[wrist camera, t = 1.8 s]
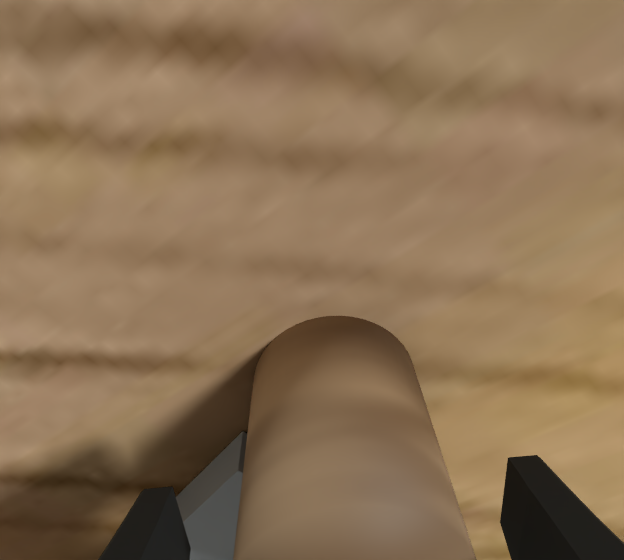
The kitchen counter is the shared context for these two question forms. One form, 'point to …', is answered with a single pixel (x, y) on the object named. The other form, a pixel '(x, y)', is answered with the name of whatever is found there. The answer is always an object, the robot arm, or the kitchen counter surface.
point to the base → (214, 504)
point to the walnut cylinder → (343, 453)
